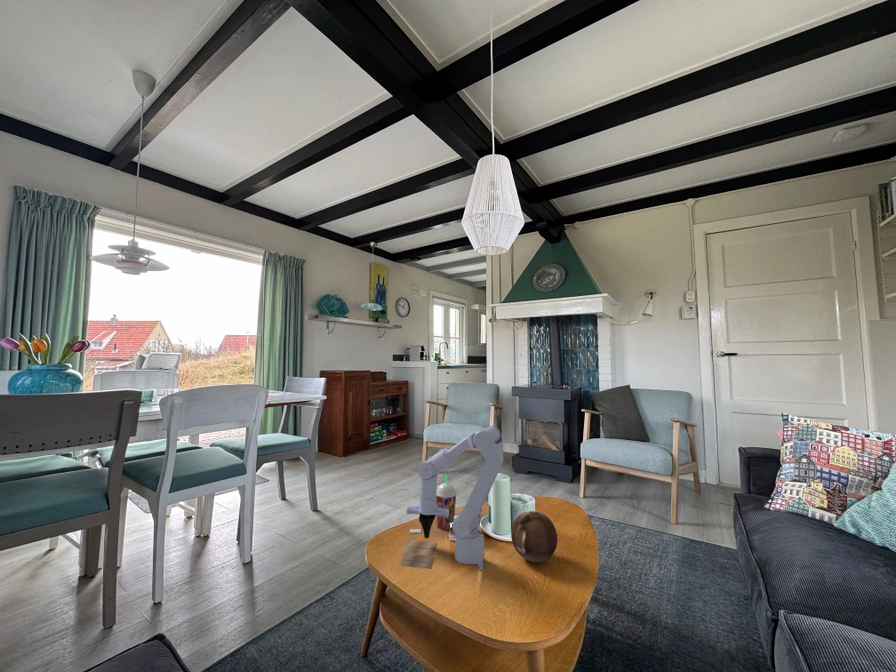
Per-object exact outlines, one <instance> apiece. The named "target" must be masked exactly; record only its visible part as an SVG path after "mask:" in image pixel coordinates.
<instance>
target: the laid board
mask: <svg viewBox="0 0 896 672" xmlns="http://www.w3.org/2000/svg"><path fill="white" fill-rule="evenodd" d="M435 558H436V557H435V556H434V555H432V556H428V555H418V554H409V553H403V557H402V559H401V561H400V563H399V566H401V567H411V568H419V569H428V570H431V569H432V567H433V565H434V562H435Z"/></svg>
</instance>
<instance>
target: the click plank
mask: <svg viewBox="0 0 896 672" xmlns="http://www.w3.org/2000/svg"><path fill="white" fill-rule="evenodd" d="M436 545H437V542H432V541H431V542H430V541H419V540H410V539H409V540H407V541H406V544H405V546H404V548H403V550H402V552H401V553H402V554H413V555H423V556H434V555H433V554H434V551H435V548H436Z"/></svg>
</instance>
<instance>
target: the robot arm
mask: <svg viewBox="0 0 896 672" xmlns="http://www.w3.org/2000/svg"><path fill="white" fill-rule="evenodd" d="M503 442H504V437H503V435H502V433H501V431H500V429H499V428H498V427H496V426H493V425H489V426H486V427H484V428H483V429H479V430H477V431H475V432H472V434H469V435H467V436H466V437H464V438H463V439H461V440H459V442H458V443H456V444H454V445H453V446H452V447H450V448H446V447H444V448H439V449H438V450H437V452H436V453H435V454H434V455H430V456H428V458H427V460H425V461H422V462H420V464H419V465H418V466H417V474H418V476H419V477H420V481H419V483H420V485H419V486H420V487H419V505H414V506H410V505H408V506H407V507H406V515H411V514H412V515H419V517H418V520H419V521H418V522H420V525H421V527H422V531H423V535H424V537H423V538H424V539H429V538H430V534H431V530H432V526H433V523H434V521H435V520H436V516H444V517H446V518H448V516H449V510H448V509H442V508H438V507H436V493H437V488H438V486H437V485H438V475H439V474H440V472H443V471H444V470H445V469H446V468H448V467H450V466H452V465H453V464H454V462H455V459H456V457H457V456H459V455H461V454H462V453H464V452H465V451H468V449H470V448H471V449H474V450H475V449H477V450H478V451H479V453H480V454H481V455H482V456H483V458H484V465H483V467H482V468H481V471H480V474H479V475H478V478H477V480H476V482H475V485H474V486H473V489H472V491H471V493H470V494H469V497H468V500H467V502H466V504H465V505H464V506H463V508H462V509H461V511H460V513H459V515H458V516H456V517H454V521H453V524H452V527H453V528H452V530H453V533H454V534H455V541H454V542H455V544H454V545H455V549H454V559H455V561H457V562H458V563H459V564H464V565H477V570H478V571H483V569H484V560H485V553H484V547H485V540H484V539H485V535H484V534H482V533H479V530H478V527H479V525H480V524H481V521H482V512H483V509H482V508H483V506H484V504H485V502H486V500H487V498H488V496H489V494H490V491H491V489H492V487H493V485H494V483H495V481H496V479H497V476H498V475H499V472H500V470H501V468H502V466H503V464H504V447H503Z"/></svg>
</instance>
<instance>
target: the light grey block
mask: <svg viewBox="0 0 896 672" xmlns="http://www.w3.org/2000/svg"><path fill="white" fill-rule="evenodd" d="M409 534H422V530H421V528H410V529H409Z"/></svg>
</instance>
